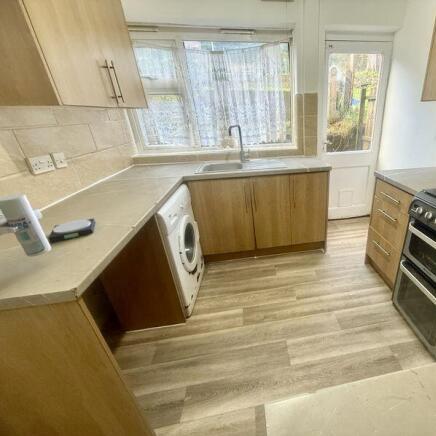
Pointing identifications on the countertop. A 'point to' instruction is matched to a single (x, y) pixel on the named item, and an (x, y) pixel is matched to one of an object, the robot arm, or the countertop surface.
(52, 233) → the kitchen scale
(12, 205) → the spray can
